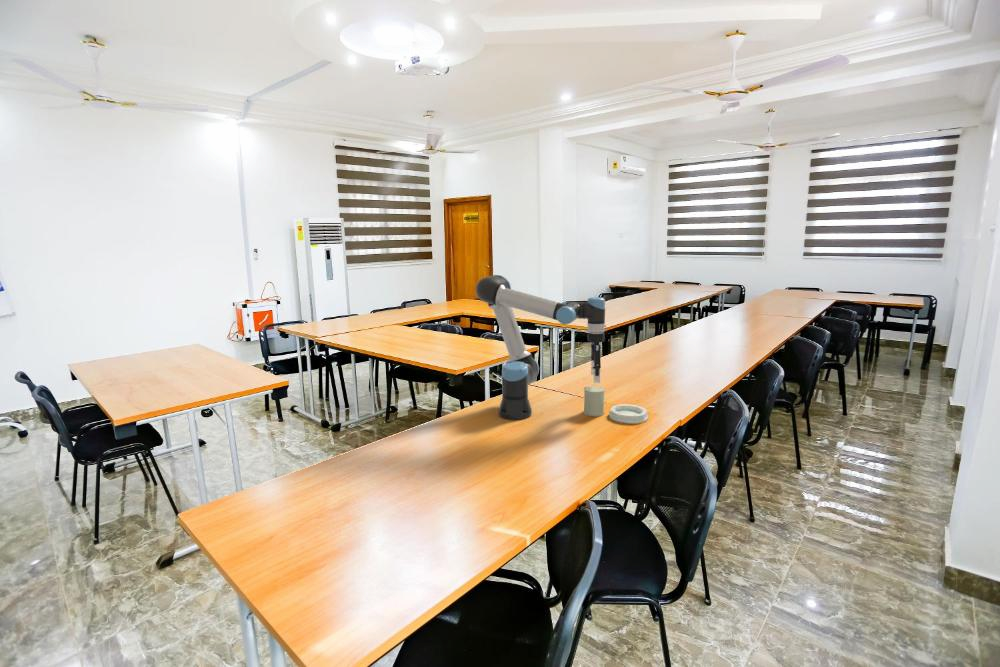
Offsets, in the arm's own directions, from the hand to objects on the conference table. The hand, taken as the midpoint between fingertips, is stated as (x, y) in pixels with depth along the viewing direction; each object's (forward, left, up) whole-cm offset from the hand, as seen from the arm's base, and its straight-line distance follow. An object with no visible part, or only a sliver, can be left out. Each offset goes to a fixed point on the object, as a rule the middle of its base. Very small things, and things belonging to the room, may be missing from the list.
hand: (595, 378), depth 225 cm
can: (0, 0, -17) cm, 17 cm away
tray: (+15, -4, -17) cm, 22 cm away
